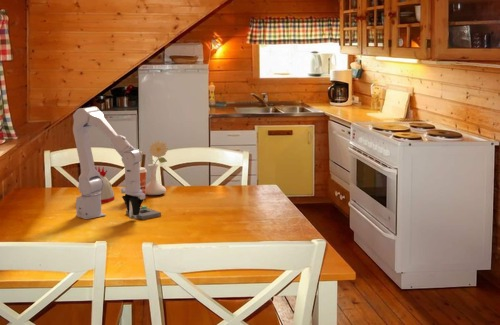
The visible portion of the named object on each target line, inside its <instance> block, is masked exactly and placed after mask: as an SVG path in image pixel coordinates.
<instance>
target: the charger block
mask: <svg viewBox="0 0 500 325" xmlns="http://www.w3.org/2000/svg"><path fill="white" fill-rule="evenodd" d="M125 215H128V216H129V213H128V210H127V209H126V210H125ZM161 216H162V212H161V211H157V210H155V209H153V208H148V206H146V205H141V207H140V211H139V215H138V218H137V219H139V220H141V221H144V220H149V219H154V218H158V217H161Z"/></svg>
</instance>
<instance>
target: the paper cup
mask: <svg viewBox="0 0 500 325" xmlns="http://www.w3.org/2000/svg"><path fill="white" fill-rule="evenodd" d="M147 172H148V171H147V169H146V167H144V166H143V167H142V166H140V190H143V193H144V194H145V189H146V185H147V182H146V180H147ZM145 195H146V194H145ZM144 200H146V198H145V199H144ZM144 200H143V201H144Z"/></svg>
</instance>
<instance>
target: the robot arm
mask: <svg viewBox="0 0 500 325" xmlns="http://www.w3.org/2000/svg"><path fill="white" fill-rule="evenodd" d="M72 118H73V125H72V132H73V136H74V141H75V147H76V152H77V156H78V161H79V166H80V171H81V173H80V175H79V176H78V186H77V187H78V191H79V192H80V194H81V196H76V200H75V205H76V206H75V207H76V214H75V216H76V217H78V218H81V219H83V220H89V219H94V218H99V217H104V216H106V215H107V214H106V213H103V212H102V203H101V190H102V189H103V187H104V182H103V179H102V178H101V176H100V173H99V172H98V169H97V170H96V169H95V167H96V166H95V161H94V156H93V152H92V147H91V142H90V136H89V130H90V129H91V127H97V128H98V130H100V131H101V132H102V133H103V134H104V135H105V136H106V137H107V139H109V140H110V145H111V146H112V147H113V149H114V150H115V152H117V153H118V154H119V156H120V157H121V162H122V164H123V166H124V173H125V174H124V180H125V185H124V187H121V189H120V193H121V194H125V195H122V196H121V198H122V199H123V202H124V204H125V206H126V211H127V210H128V213H129V200H130V201H131V204H132V210H133V215H139V211H140V208H142V207H141V206H142V204H143V202H144V199H145V200H146V194H144V193H143V190H140V167H141V164H140V163H141V161H142V160H143V154H142V152H141V150H140V149H139V148H135V147H134V146H133V145H132V144H130V142H129V141H128V140H127V137H126V136H123V135H121V134H118V133H117V132H116V131H115V129H114V128H113V127H112V126H111V124H110V123H109V122H108V121H107V119H106V118H105V116H104V113H103V112H102V111H101V110H100V109H99V108H98V107H97V106H93V105H92V106H89V107H83V108H82V107H80V108H77V109H76V110H75V112H73V115H72Z"/></svg>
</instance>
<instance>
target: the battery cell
mask: <svg viewBox="0 0 500 325" xmlns="http://www.w3.org/2000/svg"><path fill="white" fill-rule="evenodd" d="M128 216H129V219H130V220H136V219H138V215H133V210H132V204H131V201H130V200H129V215H128Z"/></svg>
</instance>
